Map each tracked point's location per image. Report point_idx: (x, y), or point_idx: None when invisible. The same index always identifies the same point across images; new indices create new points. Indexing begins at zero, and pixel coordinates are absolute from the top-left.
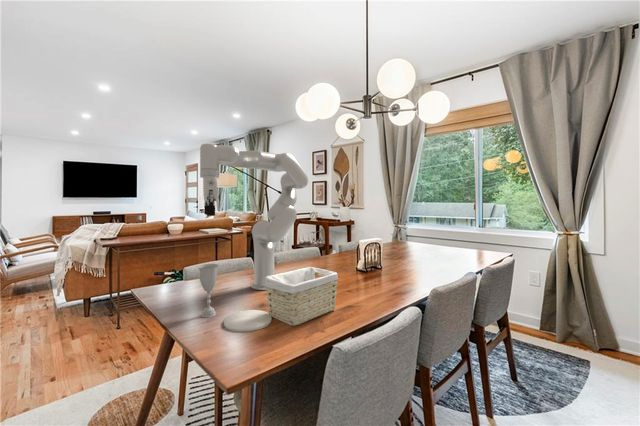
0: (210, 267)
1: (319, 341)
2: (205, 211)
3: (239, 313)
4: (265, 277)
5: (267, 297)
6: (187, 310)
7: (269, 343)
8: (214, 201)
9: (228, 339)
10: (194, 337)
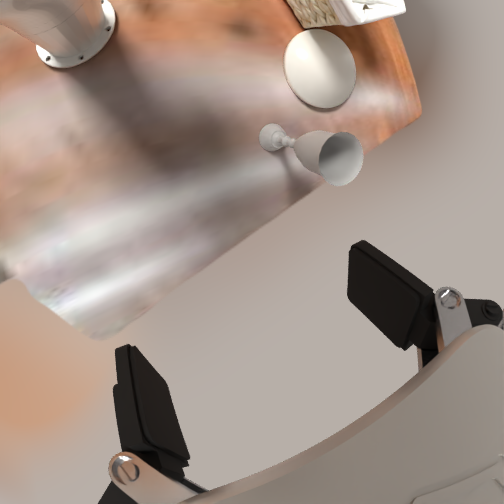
0: (317, 153)
1: None
2: (170, 404)
3: (300, 78)
4: (360, 23)
5: (327, 25)
6: (238, 187)
7: (382, 59)
8: (471, 321)
9: (364, 103)
10: None
